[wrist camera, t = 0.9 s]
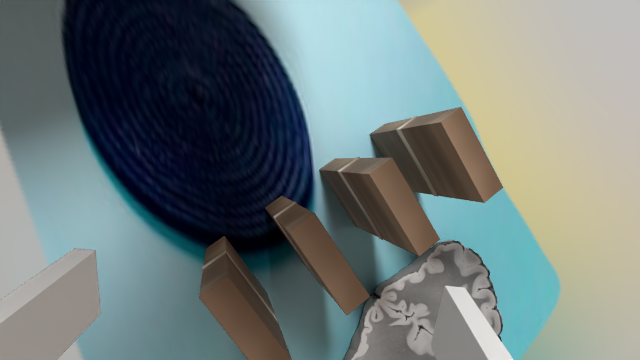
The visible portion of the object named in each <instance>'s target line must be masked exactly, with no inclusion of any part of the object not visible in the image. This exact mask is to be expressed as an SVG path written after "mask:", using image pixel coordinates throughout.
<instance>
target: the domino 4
mask: <svg viewBox="0 0 640 360" xmlns="http://www.w3.org/2000/svg"><path fill="white" fill-rule="evenodd" d="M370 136H371V138H372V139H373V141H374V143H375V144H376V146H377V148H378V150H379V151H380V153H381V155H382V156H383V158H393V160H394V161H395V163H396V165H397V167H398V168H399V170H400V172H401V173H402V175H403V177H404V178H405V180H406V182H407V184H408V185H409V187H410V189H411V190H412V192H418V193H425V194H431V195H434V196H444V197H450V198H457V199H463V200H470V201H476V202H482V203H485V202H486V201H487V200H488V199H490V198H491V197H492V196H493V195H494V194H496V193H497V192H498V191H499V190H501V189H502V188H503V186H502V184H501V183H500V181H499V179H498V177H497V175H496V173H495V171H494V169H493V167H492V165H491V163H490V161H489V159H488V158H487V156H486V154H485V152H484V150H483V148H482V146H481V144H480V142H479V140H478V138H477V136H476V135H475V133H474V131H473V129H472V127H471V125H470V123H469V121H468V119H467V117H466V115H465V113H464V111H463V110H462V108H461V107H459V108H455V109H450V110H446V111H441V112H437V113H432V114H428V115H423V116H419V117H418V116H415V117H413V118H410V119H405V120H401V121H396V122H392V123H387V124H384V125H382V126H381V127H380V128H378V129H377V130H375V131H374V132H372V133H371V134H370Z"/></svg>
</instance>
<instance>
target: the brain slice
mask: <svg viewBox="0 0 640 360" xmlns="http://www.w3.org/2000/svg"><path fill="white" fill-rule="evenodd" d="M489 275H490V272H489V270H488V268H487V267H486V266H485V265H484V264H483V261H482V259H481V257H480V256H479V255H478V254H477V253H475V252H474V251H473V250H472V249H470V248H465V247H464V245H463V244H462V243H460V242H458V241H453V240H447V241H444V242H439V243H436V244H435V245H433V246H432V248H430V249H428V250H427V251H425V252H424V253H423V254H422V255H420V256H418V257H417V258H416V259H415V260H414V261H413V262H412V263H410V264H409V265H408V266H406V267H404V268H403V269H402V270H400V271H399V273H397V274H395V275H393V276H392V277H391V278H389V279H388V280H385V281H384V282H382V283H381V284H380V285H379V286H378V287H377V289H376V291H375V292H376V295H377V296H374V295H372V296H371V297H370V298H369V299H368V300H367V302H366V303H365V305H364V309H363V314H362V317H361V319H360V324H359V327H358V328H357V330H356V331H355V333H354V335H353V337H352V340H351V345H350V348H349V350H348V351H347V353H346V355H345V357H344V360H436V358H435V355H434V353H433V350H432V348H431V341H432V337H433V333H434V329H435V324H436V320H437V316H438V312H439V308H440V304H441V300H442V296H443V291H444V287H445V286H453V287H463V288H465V289H466V290H467V292H468V293H469V295H470V296H471V298H472V299H473V301H474V302H475V304H476V305H477V307H478V308H479V309H480V311H481V312H482V314H483V315H484V317H485V318H486V320H487V321H488V323H489V324H490V326H491V327H492V329H493V330H494V332H495V333H496V335H497V336H498V338H499V339H500V341H501V342H502V340H501V337H500V336H499V335H500V333H501V332H502V328H503V323H502V316H501V313H500V312H499V310H498V309H497V297H496V294H495V292H494V289H493V284H492V282H491V280H490V278H489Z"/></svg>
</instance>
